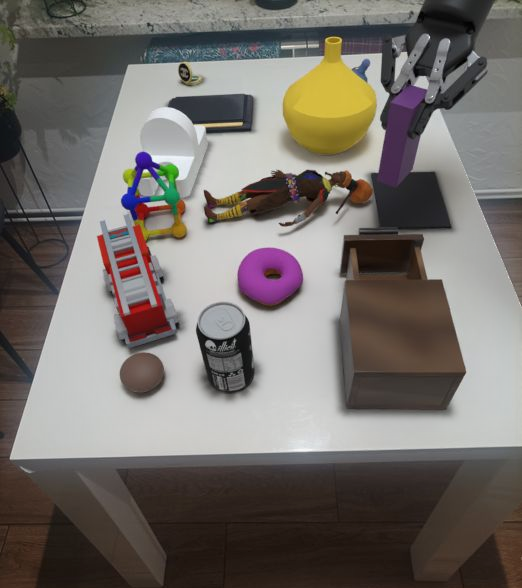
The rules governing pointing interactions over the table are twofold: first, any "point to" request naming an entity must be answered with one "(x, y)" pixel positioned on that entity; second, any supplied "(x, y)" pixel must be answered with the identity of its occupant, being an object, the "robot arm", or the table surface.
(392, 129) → the purple rectangular block
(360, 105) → the vase
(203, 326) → the beverage can
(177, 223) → the model
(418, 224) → the mat
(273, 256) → the donut
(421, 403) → the cabinet
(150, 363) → the egg
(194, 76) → the eyeshadow
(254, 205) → the figurine
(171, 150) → the bracket
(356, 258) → the drawer
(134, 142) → the table surface
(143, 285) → the toy fire truck
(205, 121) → the wallet
